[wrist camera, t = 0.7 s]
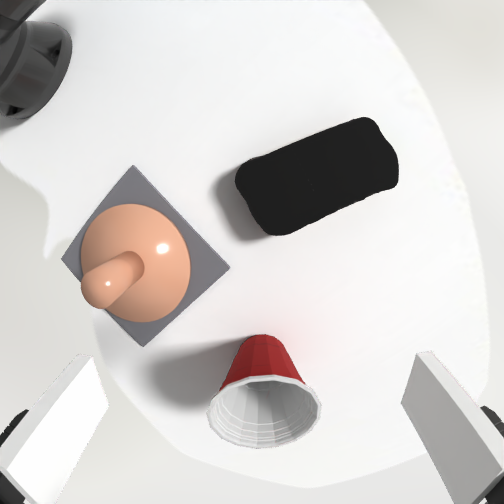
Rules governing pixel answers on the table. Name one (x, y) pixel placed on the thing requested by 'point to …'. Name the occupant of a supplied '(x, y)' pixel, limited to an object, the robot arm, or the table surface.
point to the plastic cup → (263, 398)
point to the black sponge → (317, 176)
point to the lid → (134, 263)
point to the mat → (202, 255)
